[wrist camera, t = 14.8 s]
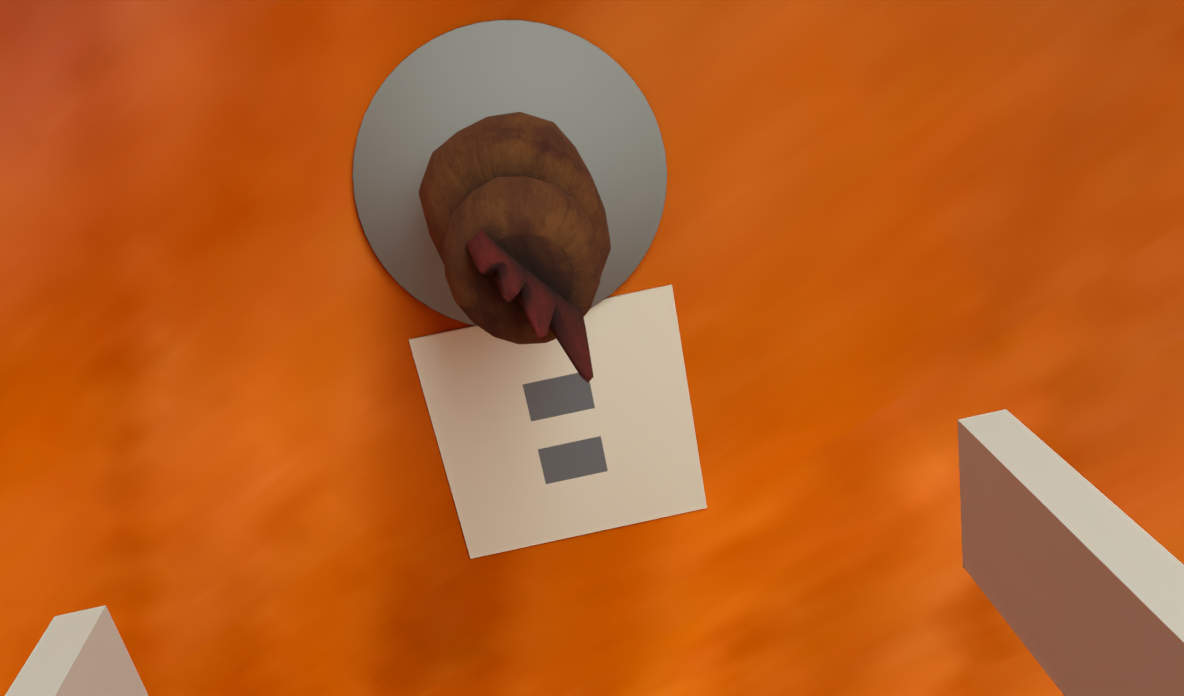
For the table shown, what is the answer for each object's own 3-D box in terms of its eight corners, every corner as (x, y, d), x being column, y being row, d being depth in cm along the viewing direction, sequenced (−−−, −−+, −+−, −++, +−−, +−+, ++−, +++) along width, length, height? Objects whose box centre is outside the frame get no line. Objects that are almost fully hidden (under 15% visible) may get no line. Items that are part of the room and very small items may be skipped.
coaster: (399, 352, 40) (399, 356, 40) (314, 55, 35) (312, 56, 35) (685, 293, 40) (687, 296, 40) (638, -10, 36) (640, -10, 35)
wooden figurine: (617, 228, 39) (693, 393, 25) (487, 292, 39) (490, 487, 25) (541, 70, 36) (579, 155, 22) (402, 139, 36) (355, 266, 23)
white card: (470, 557, 44) (470, 558, 44) (408, 339, 40) (408, 340, 40) (706, 506, 45) (707, 508, 44) (671, 284, 40) (672, 285, 40)
